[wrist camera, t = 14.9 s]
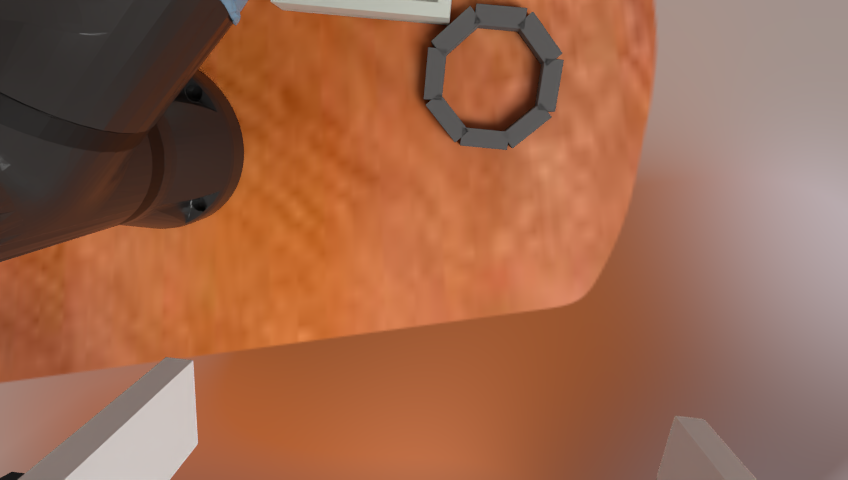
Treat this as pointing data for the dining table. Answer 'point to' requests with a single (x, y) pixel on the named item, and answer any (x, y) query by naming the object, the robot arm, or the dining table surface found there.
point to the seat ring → (537, 43)
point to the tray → (376, 9)
